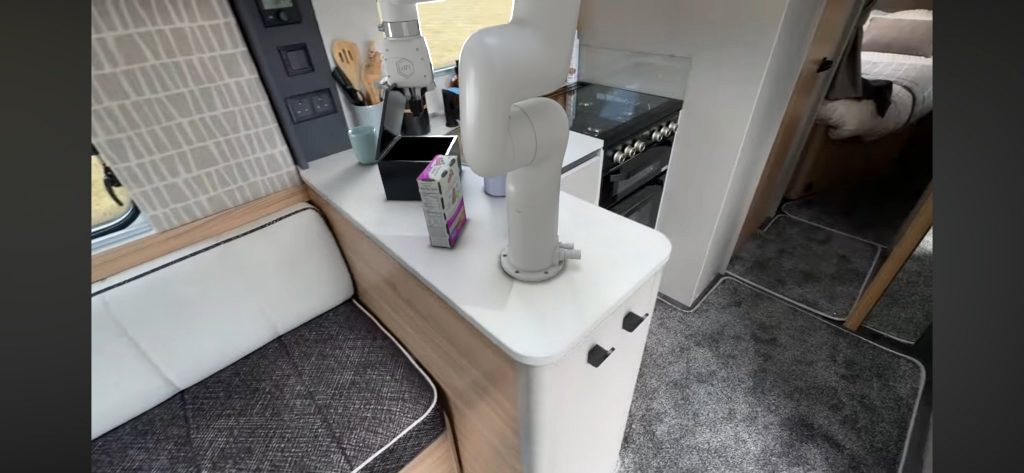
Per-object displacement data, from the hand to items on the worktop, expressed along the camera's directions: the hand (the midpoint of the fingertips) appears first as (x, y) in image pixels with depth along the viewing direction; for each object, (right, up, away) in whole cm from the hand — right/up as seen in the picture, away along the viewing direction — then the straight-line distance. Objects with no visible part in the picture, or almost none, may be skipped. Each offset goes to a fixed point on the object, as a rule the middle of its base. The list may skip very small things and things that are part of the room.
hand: (418, 115), depth 91 cm
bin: (-1, -15, +11) cm, 19 cm away
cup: (-21, -6, +25) cm, 34 cm away
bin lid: (-6, 0, +1) cm, 6 cm away
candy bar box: (+9, -29, -7) cm, 31 cm away
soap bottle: (+20, -17, +8) cm, 28 cm away
